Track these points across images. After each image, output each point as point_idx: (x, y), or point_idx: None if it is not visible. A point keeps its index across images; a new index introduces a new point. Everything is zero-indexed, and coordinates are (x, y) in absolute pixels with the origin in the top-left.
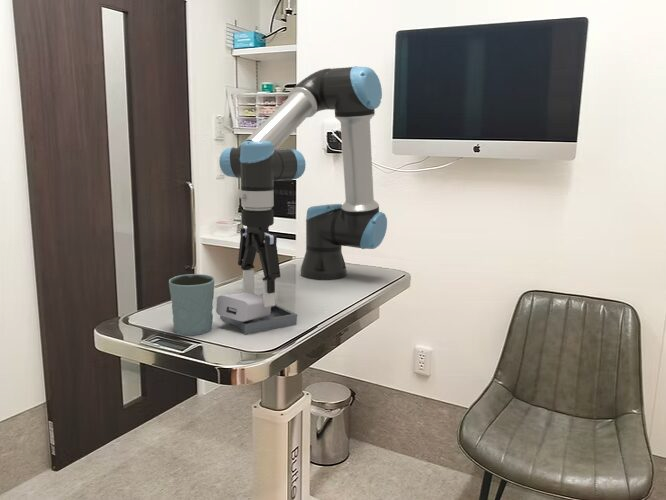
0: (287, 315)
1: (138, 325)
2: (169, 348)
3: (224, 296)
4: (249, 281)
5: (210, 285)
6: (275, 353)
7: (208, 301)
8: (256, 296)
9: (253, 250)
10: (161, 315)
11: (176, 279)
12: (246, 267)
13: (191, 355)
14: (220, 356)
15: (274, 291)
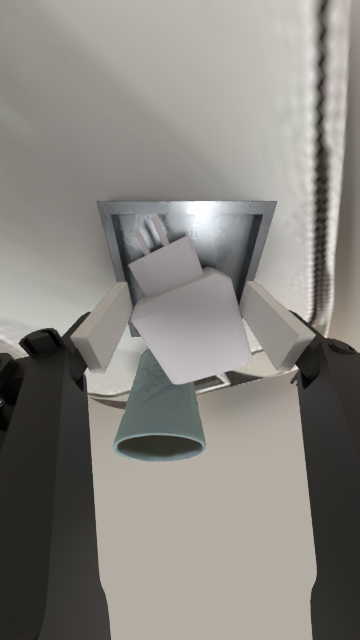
0: (261, 235)
1: (124, 392)
2: (210, 388)
3: (188, 381)
4: (115, 322)
5: (199, 432)
6: (325, 321)
7: (193, 398)
8: (199, 316)
9: (73, 551)
10: (90, 372)
11: (129, 450)
12: (78, 371)
13: (242, 381)
14: (268, 366)
15: (293, 313)
